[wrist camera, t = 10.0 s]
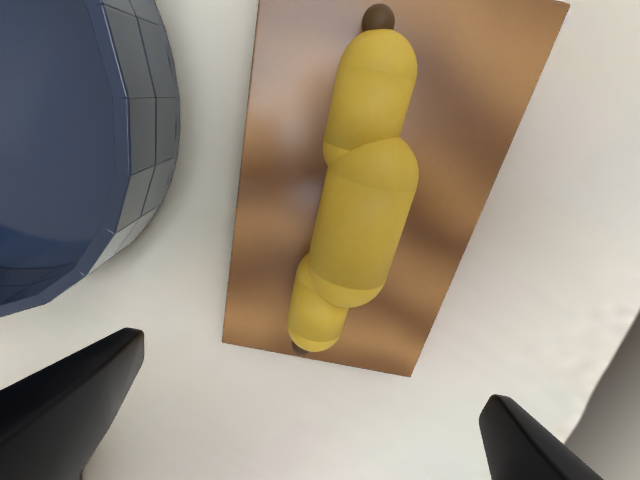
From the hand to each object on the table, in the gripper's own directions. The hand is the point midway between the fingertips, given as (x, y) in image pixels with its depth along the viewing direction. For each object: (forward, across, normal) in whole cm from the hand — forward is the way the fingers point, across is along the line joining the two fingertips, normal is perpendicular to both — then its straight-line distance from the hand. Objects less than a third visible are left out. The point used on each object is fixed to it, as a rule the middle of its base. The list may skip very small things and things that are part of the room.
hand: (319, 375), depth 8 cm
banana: (+10, -1, -2) cm, 10 cm away
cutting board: (+11, -1, -2) cm, 11 cm away
